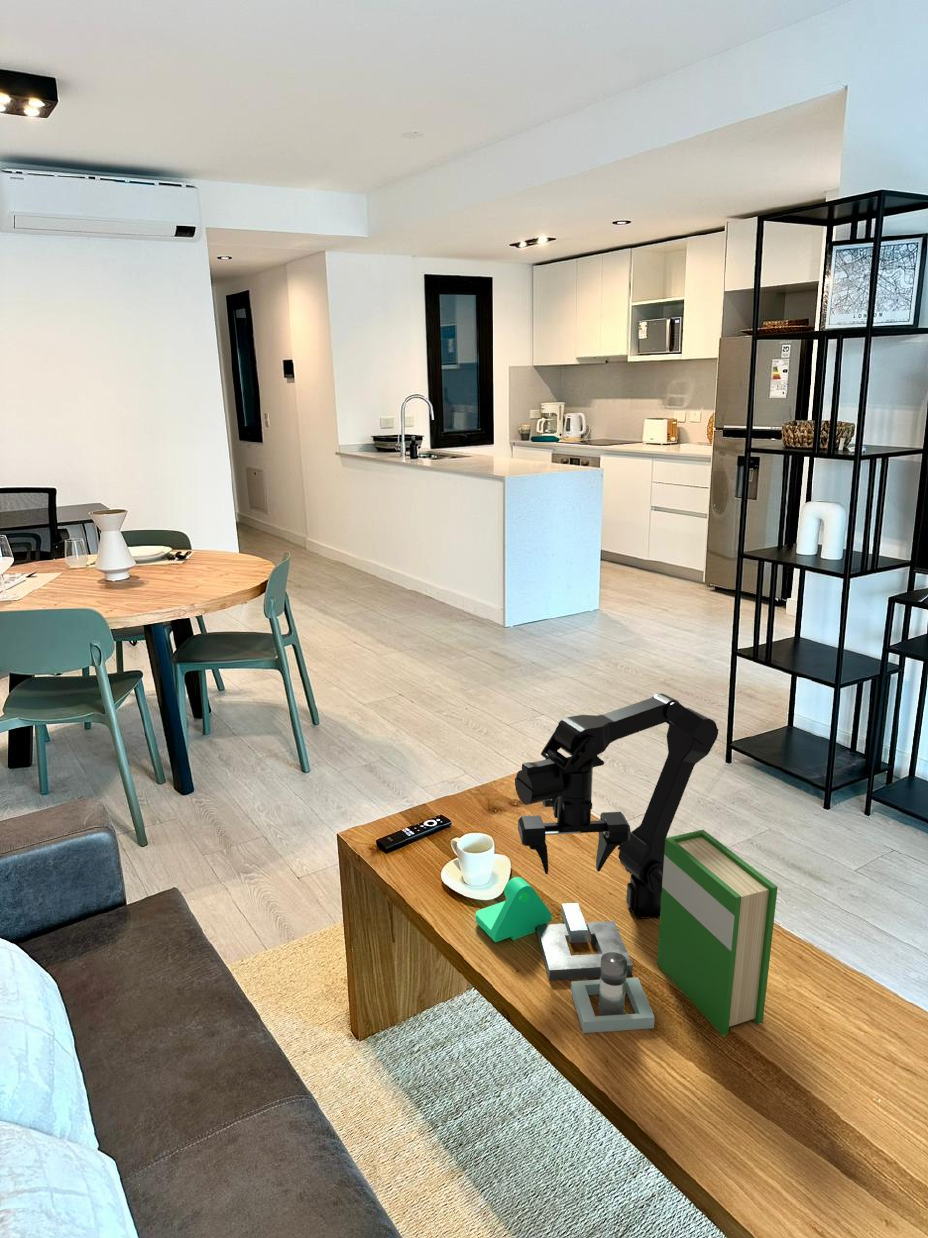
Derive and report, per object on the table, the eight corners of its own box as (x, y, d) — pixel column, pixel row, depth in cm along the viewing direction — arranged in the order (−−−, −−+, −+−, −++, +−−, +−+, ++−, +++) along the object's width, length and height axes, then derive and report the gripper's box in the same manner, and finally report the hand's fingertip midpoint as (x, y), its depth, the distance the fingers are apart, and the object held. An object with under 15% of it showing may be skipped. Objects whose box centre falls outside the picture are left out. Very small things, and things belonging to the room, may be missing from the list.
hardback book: (762, 1023, 130) (777, 886, 123) (723, 1036, 127) (736, 897, 121) (693, 953, 145) (703, 829, 139) (656, 964, 143) (665, 838, 136)
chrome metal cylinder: (620, 999, 135) (623, 951, 132) (627, 1017, 131) (630, 968, 128) (595, 1001, 134) (598, 953, 132) (601, 1019, 130) (604, 970, 128)
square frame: (637, 987, 137) (637, 977, 137) (653, 1028, 129) (654, 1017, 128) (570, 992, 136) (571, 981, 136) (583, 1033, 128) (583, 1022, 127)
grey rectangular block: (577, 914, 156) (577, 902, 156) (587, 942, 149) (587, 929, 148) (561, 915, 156) (561, 903, 155) (570, 943, 148) (570, 930, 148)
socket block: (613, 930, 152) (614, 920, 151) (632, 975, 140) (632, 965, 140) (537, 934, 151) (537, 925, 150) (549, 980, 139) (549, 970, 138)
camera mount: (528, 904, 160) (528, 856, 157) (551, 926, 153) (552, 877, 150) (473, 924, 154) (473, 875, 151) (495, 947, 148) (495, 896, 145)
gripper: (616, 768, 152) (612, 845, 156) (513, 772, 150) (512, 849, 155) (633, 797, 141) (628, 879, 145) (523, 802, 140) (522, 884, 144)
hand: (572, 871), depth 148 cm, fingers open, 9 cm apart
